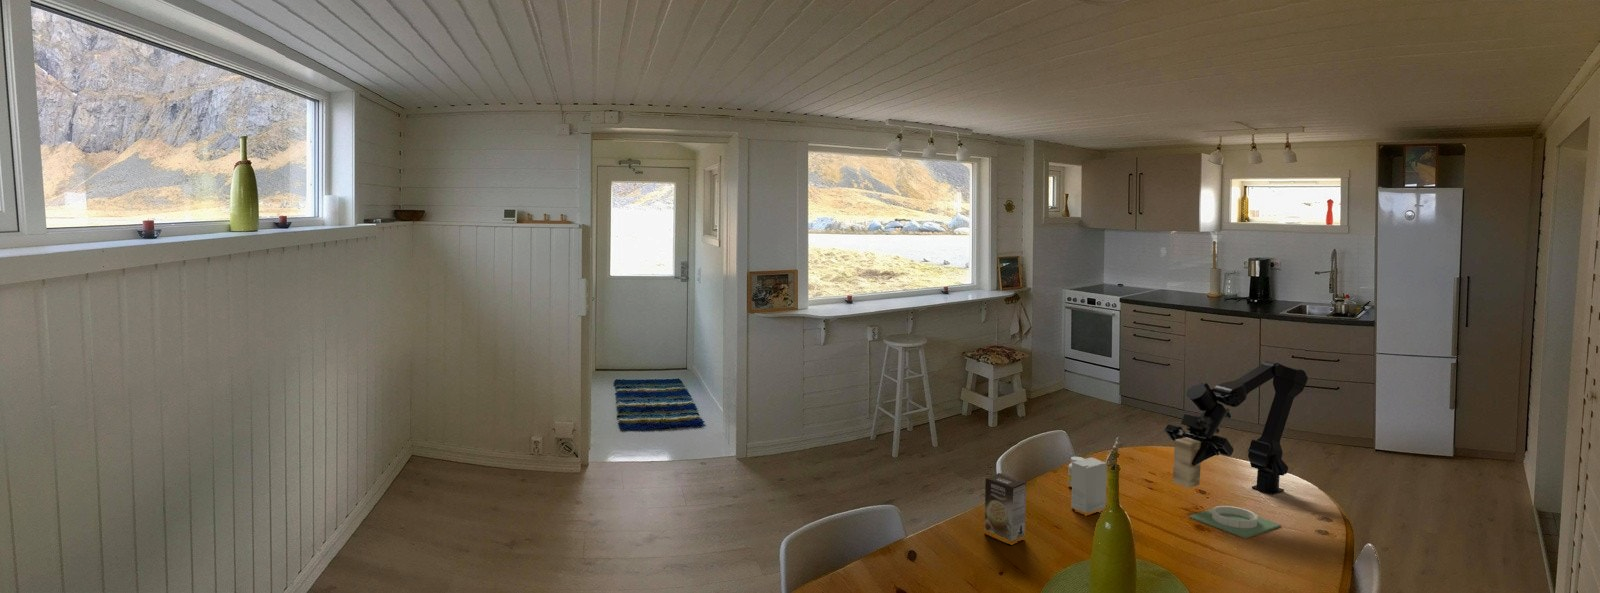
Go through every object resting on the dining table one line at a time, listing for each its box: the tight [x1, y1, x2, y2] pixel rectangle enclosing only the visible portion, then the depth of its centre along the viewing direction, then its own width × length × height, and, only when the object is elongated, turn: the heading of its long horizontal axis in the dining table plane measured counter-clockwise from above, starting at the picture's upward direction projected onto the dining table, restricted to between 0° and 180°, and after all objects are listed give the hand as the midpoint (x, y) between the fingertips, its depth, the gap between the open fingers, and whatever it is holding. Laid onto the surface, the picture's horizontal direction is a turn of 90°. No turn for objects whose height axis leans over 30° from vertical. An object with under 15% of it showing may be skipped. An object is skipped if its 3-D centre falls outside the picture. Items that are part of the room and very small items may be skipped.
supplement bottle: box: [1067, 456, 1085, 486], centre depth 230 cm, size 5×5×10 cm
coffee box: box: [984, 472, 1027, 541], centre depth 193 cm, size 9×6×16 cm
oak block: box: [1172, 437, 1202, 489], centre depth 213 cm, size 5×5×13 cm
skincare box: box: [1070, 457, 1108, 513], centre depth 211 cm, size 8×6×15 cm
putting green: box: [1188, 505, 1282, 539], centre depth 202 cm, size 16×16×2 cm
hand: (1184, 462), depth 212 cm, fingers closed on oak block, 5 cm apart
